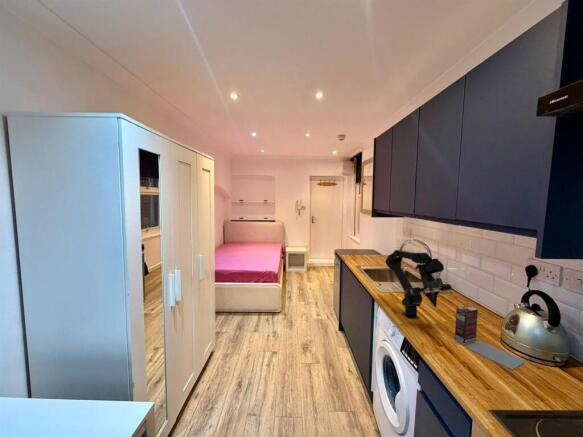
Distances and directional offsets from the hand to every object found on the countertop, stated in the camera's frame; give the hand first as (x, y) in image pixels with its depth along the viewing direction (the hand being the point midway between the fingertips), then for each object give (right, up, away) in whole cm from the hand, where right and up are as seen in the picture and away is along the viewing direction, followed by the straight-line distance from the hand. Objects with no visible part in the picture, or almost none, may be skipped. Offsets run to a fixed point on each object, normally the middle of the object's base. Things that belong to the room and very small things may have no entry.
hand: (435, 306), depth 128 cm
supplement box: (+9, -13, -8) cm, 18 cm away
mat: (+15, -14, -19) cm, 28 cm away
